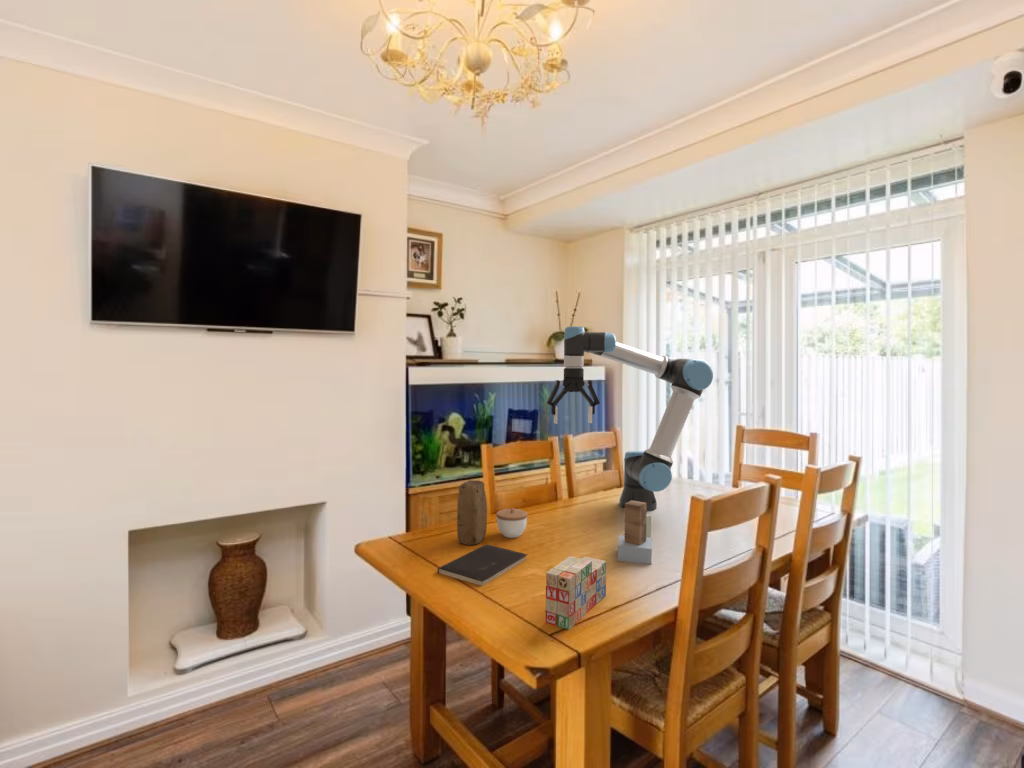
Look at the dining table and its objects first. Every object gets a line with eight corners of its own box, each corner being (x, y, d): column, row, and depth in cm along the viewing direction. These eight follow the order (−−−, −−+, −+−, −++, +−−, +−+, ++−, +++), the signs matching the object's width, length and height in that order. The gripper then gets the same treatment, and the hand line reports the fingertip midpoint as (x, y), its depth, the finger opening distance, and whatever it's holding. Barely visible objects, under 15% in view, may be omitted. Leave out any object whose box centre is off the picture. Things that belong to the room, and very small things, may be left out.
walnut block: (631, 537, 170) (631, 500, 170) (646, 540, 167) (646, 502, 167) (624, 541, 166) (624, 503, 166) (639, 545, 163) (639, 505, 163)
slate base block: (619, 550, 173) (619, 535, 172) (651, 553, 170) (651, 538, 170) (617, 561, 163) (617, 545, 163) (651, 565, 161) (651, 548, 160)
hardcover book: (527, 561, 163) (527, 554, 163) (482, 588, 144) (482, 580, 144) (484, 550, 172) (484, 543, 172) (437, 574, 152) (437, 567, 152)
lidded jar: (533, 536, 184) (533, 509, 183) (506, 542, 178) (506, 514, 178) (516, 528, 193) (516, 502, 192) (490, 533, 187) (490, 506, 187)
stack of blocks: (584, 590, 143) (585, 544, 142) (606, 596, 139) (607, 549, 138) (544, 623, 125) (545, 571, 124) (568, 631, 121) (569, 577, 121)
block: (474, 547, 173) (475, 486, 172) (454, 544, 176) (454, 484, 175) (489, 537, 183) (490, 479, 182) (470, 534, 186) (470, 477, 185)
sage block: (640, 537, 184) (640, 511, 184) (650, 542, 180) (651, 515, 179) (629, 539, 182) (629, 513, 181) (639, 544, 177) (640, 517, 177)
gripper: (601, 367, 208) (601, 421, 209) (539, 367, 204) (538, 422, 205) (608, 367, 201) (607, 424, 202) (543, 367, 197) (543, 424, 198)
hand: (572, 423), depth 204 cm, fingers open, 13 cm apart
